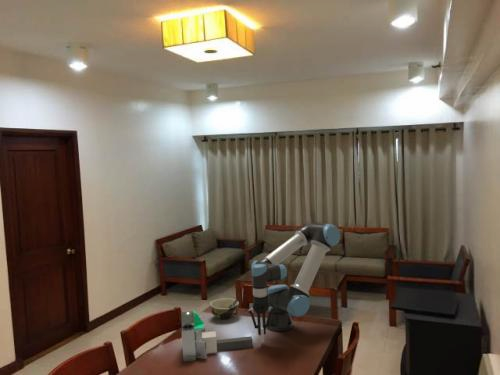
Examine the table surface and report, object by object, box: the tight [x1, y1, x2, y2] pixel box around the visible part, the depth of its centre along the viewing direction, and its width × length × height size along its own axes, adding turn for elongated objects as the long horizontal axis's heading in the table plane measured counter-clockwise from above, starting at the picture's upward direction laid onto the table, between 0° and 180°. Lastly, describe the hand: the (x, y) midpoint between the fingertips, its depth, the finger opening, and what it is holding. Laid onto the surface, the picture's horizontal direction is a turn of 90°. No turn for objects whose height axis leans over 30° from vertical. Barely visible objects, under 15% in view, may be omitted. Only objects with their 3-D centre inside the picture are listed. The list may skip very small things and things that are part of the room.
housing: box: [180, 310, 208, 362], centre depth 210 cm, size 11×19×20 cm, turn 8°
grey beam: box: [202, 330, 253, 355], centre depth 212 cm, size 28×7×8 cm, turn 98°
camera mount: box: [192, 310, 205, 331], centre depth 238 cm, size 12×8×10 cm, turn 97°
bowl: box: [209, 297, 240, 320], centre depth 255 cm, size 18×18×10 cm
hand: (262, 340), depth 215 cm, fingers closed
